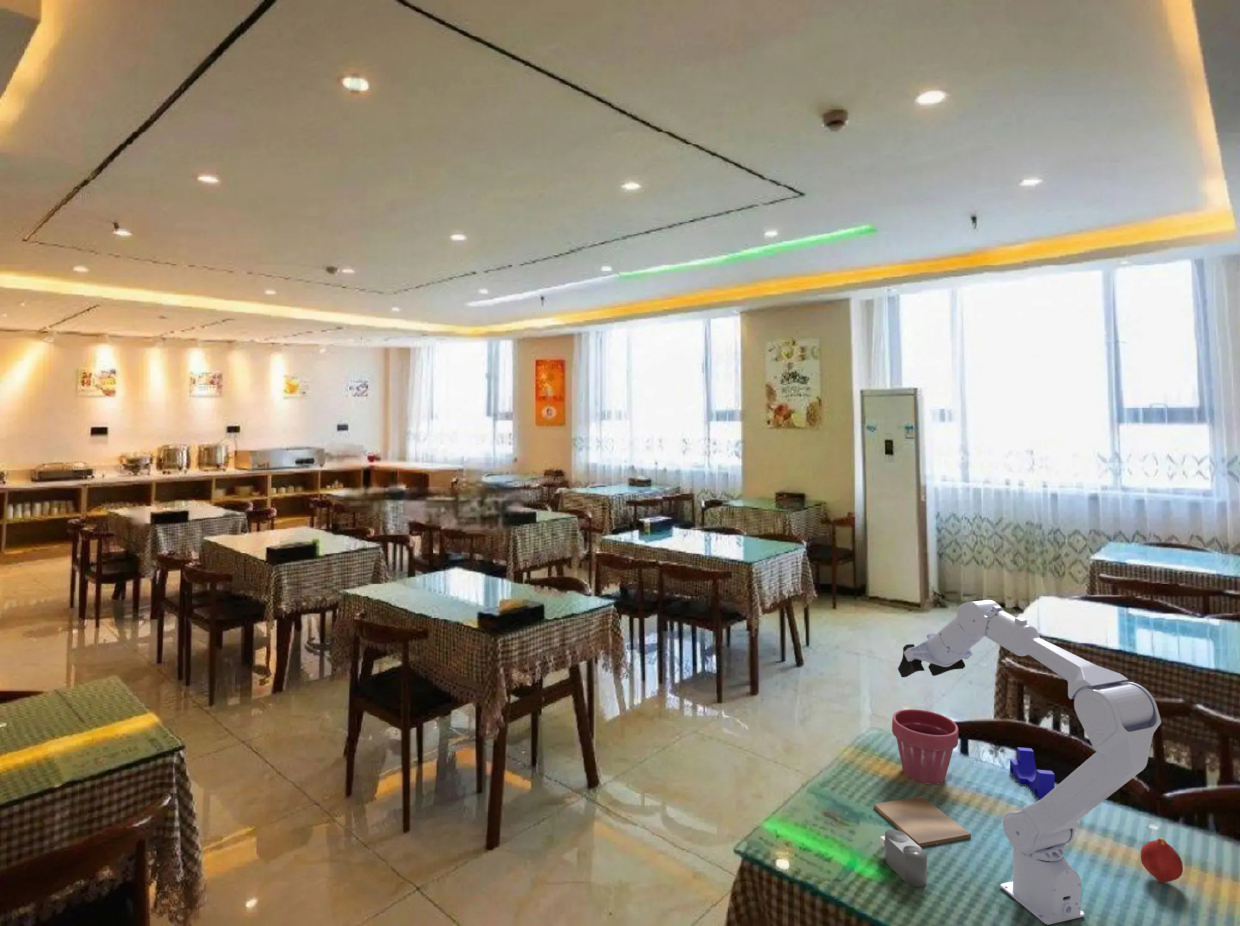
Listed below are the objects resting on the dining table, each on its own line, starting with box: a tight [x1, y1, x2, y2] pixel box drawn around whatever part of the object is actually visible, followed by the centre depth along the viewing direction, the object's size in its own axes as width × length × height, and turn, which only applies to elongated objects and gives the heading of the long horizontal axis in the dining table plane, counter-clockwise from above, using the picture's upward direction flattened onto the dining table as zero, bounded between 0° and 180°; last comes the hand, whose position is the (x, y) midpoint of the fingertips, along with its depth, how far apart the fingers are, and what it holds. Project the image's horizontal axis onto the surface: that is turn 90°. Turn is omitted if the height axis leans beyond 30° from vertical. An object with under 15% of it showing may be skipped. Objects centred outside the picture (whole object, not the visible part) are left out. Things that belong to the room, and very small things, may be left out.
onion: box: [1140, 837, 1184, 884], centre depth 115 cm, size 6×6×8 cm
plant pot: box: [891, 708, 959, 785], centre depth 152 cm, size 14×14×13 cm
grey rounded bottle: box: [879, 829, 928, 888], centre depth 119 cm, size 10×4×5 cm, turn 14°
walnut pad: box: [873, 795, 972, 848], centre depth 133 cm, size 14×12×1 cm
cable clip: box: [1009, 747, 1056, 800], centre depth 147 cm, size 12×4×6 cm, turn 169°
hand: (916, 672), depth 136 cm, fingers open, 7 cm apart
